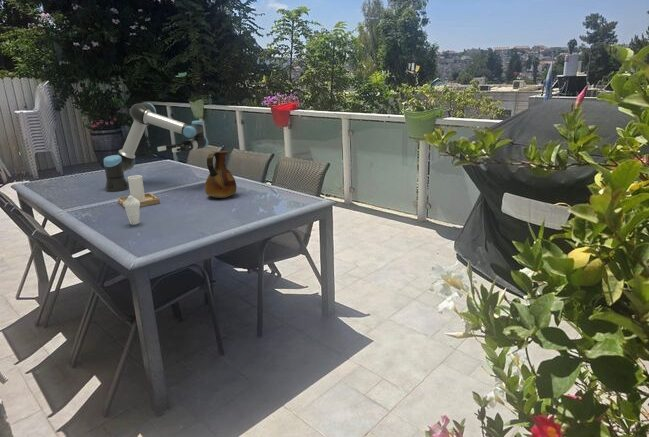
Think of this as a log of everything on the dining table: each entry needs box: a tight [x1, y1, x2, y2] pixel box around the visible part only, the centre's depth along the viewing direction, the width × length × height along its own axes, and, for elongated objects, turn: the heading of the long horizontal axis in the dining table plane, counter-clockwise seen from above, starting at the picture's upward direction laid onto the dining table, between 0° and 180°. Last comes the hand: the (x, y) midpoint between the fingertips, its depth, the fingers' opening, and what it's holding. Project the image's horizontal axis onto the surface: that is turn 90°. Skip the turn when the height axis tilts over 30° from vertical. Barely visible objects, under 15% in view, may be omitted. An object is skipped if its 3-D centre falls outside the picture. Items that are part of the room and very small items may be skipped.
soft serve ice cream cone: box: [123, 194, 141, 226], centre depth 244 cm, size 8×8×16 cm
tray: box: [117, 192, 161, 209], centre depth 286 cm, size 20×20×3 cm
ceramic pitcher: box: [204, 150, 237, 199], centre depth 292 cm, size 20×20×30 cm
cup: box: [127, 174, 146, 202], centre depth 283 cm, size 8×8×16 cm
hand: (165, 149), depth 296 cm, fingers open, 13 cm apart
